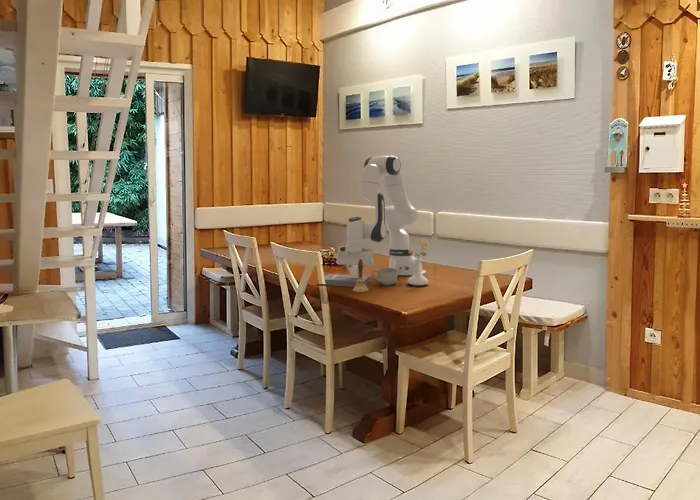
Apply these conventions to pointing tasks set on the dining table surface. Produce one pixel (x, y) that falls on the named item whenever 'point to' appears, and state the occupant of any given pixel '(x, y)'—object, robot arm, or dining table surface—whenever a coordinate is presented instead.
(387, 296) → the dining table surface
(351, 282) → the console
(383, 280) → the teacup
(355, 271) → the fader
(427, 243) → the flower in vase
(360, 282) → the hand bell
